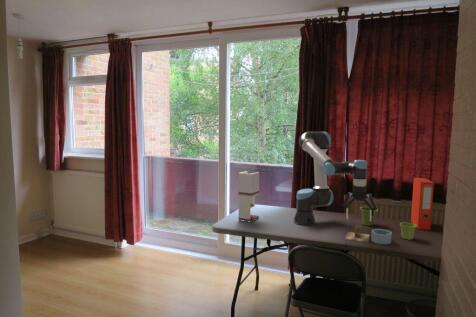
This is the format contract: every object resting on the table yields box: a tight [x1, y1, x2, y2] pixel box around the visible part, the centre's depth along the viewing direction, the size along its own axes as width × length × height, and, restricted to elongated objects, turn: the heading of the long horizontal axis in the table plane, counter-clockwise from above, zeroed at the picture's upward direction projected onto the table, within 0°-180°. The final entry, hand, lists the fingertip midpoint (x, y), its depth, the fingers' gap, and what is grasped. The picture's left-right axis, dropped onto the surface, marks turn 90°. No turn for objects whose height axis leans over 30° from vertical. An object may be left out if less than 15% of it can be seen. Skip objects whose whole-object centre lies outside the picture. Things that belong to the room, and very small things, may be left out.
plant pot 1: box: [359, 206, 379, 226], centre depth 241 cm, size 12×12×11 cm
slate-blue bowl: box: [370, 228, 393, 245], centre depth 208 cm, size 11×11×6 cm
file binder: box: [410, 177, 435, 231], centre depth 237 cm, size 8×17×32 cm, turn 167°
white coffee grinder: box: [238, 170, 260, 223], centre depth 252 cm, size 11×11×35 cm
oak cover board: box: [344, 225, 371, 244], centre depth 213 cm, size 13×13×7 cm
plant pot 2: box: [399, 222, 417, 241], centre depth 214 cm, size 9×9×9 cm
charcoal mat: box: [343, 235, 371, 244], centre depth 214 cm, size 14×14×1 cm
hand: (358, 219), depth 212 cm, fingers open, 13 cm apart
